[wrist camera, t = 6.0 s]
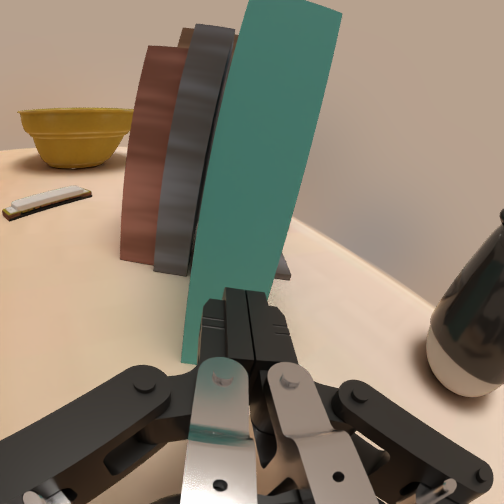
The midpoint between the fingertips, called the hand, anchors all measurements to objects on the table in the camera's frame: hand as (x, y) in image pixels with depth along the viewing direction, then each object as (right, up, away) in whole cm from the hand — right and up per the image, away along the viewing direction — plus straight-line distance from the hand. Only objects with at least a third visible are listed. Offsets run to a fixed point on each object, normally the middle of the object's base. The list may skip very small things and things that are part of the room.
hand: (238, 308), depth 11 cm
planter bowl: (-41, +23, +44) cm, 64 cm away
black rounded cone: (+18, -9, +8) cm, 22 cm away
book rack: (-4, +3, +21) cm, 22 cm away
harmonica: (-28, +8, +21) cm, 36 cm away
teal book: (-3, -1, +13) cm, 13 cm away
